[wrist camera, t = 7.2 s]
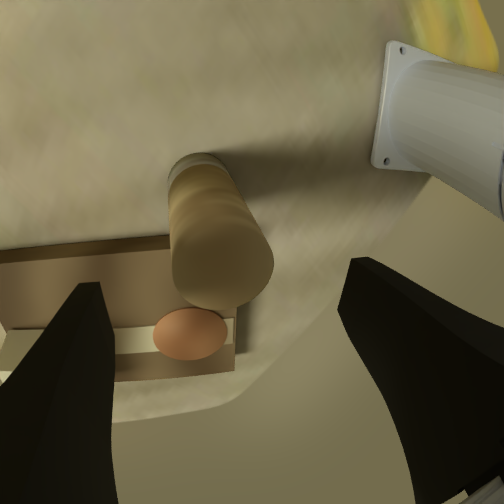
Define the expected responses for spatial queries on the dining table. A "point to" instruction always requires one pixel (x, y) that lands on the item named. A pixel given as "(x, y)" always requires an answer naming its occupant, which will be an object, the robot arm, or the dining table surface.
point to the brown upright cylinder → (214, 237)
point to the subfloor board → (121, 304)
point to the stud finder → (16, 349)
